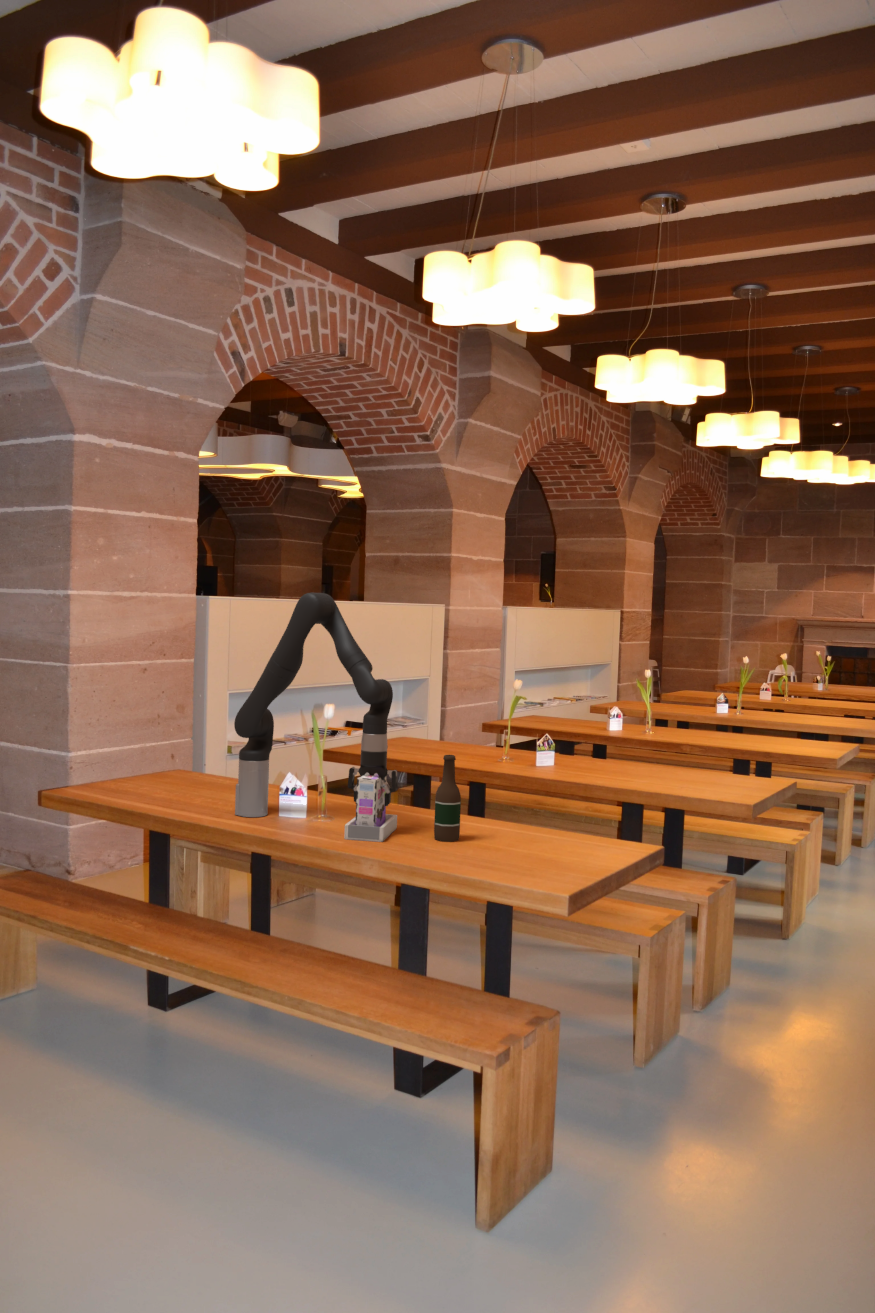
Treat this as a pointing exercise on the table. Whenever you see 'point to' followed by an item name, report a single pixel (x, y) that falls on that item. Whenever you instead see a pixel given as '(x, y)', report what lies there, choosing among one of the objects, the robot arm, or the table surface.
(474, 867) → the table surface
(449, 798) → the beer bottle
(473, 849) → the table surface
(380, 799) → the candy box
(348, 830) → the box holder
